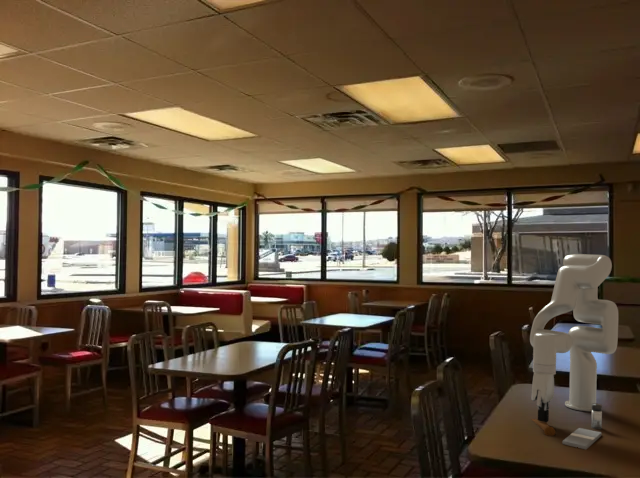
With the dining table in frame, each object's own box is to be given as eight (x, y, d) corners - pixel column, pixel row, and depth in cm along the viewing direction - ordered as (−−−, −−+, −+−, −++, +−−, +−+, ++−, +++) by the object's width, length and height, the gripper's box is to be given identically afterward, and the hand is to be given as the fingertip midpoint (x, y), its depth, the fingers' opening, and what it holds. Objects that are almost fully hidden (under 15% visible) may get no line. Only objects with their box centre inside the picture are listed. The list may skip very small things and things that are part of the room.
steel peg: (592, 425, 200) (593, 402, 200) (602, 427, 198) (603, 404, 198) (590, 427, 198) (590, 404, 198) (600, 429, 196) (600, 406, 196)
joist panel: (579, 430, 194) (579, 427, 194) (601, 435, 190) (601, 432, 190) (562, 444, 180) (562, 440, 180) (586, 449, 176) (586, 445, 176)
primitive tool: (529, 420, 208) (529, 410, 208) (545, 421, 207) (545, 411, 207) (544, 437, 189) (544, 427, 189) (561, 439, 188) (562, 428, 188)
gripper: (540, 364, 209) (539, 414, 209) (525, 369, 197) (524, 423, 197) (562, 367, 204) (560, 418, 204) (548, 373, 193) (547, 428, 192)
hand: (543, 420), depth 200 cm, fingers closed
